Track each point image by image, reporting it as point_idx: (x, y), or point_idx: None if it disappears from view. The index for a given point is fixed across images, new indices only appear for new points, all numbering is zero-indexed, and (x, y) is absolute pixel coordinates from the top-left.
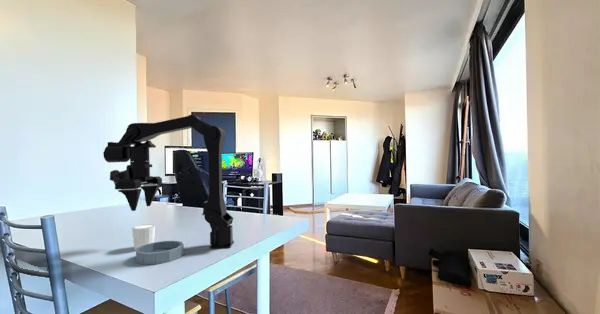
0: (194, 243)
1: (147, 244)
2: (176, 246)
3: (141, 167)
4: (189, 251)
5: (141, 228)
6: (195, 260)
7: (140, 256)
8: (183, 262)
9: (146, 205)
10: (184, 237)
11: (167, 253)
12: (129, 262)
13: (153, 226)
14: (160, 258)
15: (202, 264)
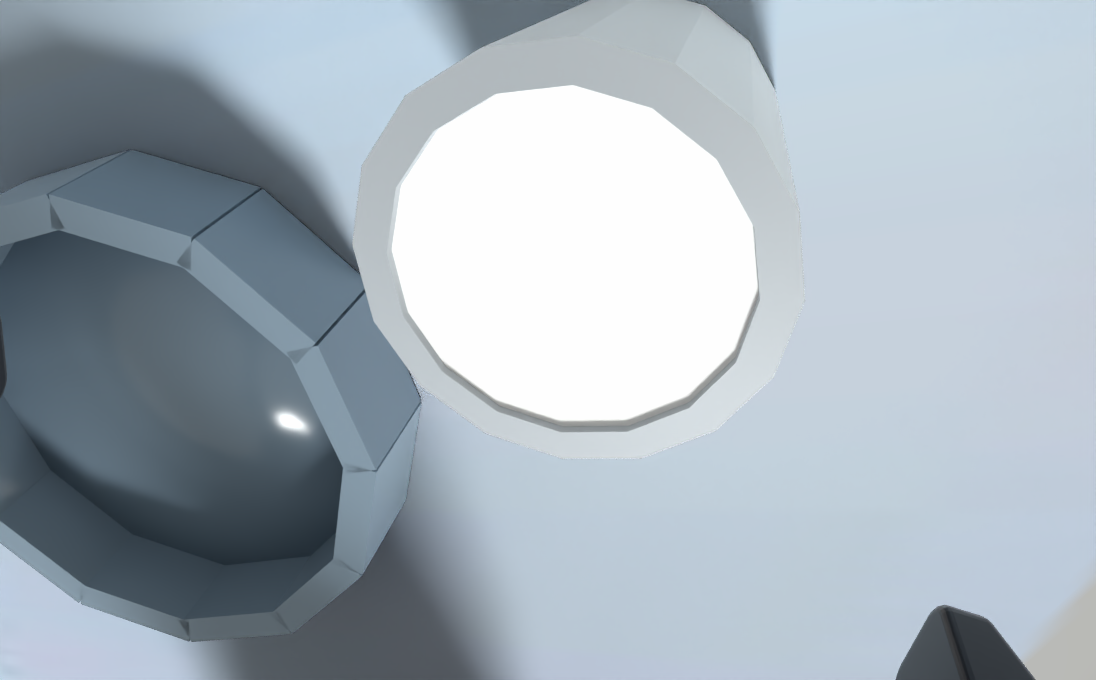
0: (620, 673)
1: (229, 299)
2: (322, 552)
3: None
4: (329, 613)
5: (383, 263)
6: (83, 632)
7: None
8: None
9: (937, 616)
10: (1012, 604)
11: None
12: (33, 102)
13: (532, 439)
14: None
15: (2, 660)
